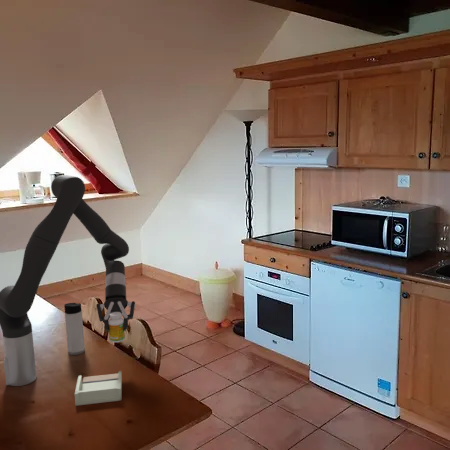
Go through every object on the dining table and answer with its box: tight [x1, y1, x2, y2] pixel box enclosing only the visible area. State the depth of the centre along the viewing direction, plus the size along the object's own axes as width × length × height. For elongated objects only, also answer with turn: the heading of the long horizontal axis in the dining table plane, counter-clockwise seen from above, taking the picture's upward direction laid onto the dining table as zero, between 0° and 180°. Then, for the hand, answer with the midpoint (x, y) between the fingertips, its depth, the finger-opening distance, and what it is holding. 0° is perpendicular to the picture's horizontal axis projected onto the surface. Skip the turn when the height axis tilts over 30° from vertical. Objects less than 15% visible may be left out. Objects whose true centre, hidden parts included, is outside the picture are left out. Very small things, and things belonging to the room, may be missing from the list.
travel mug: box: [64, 302, 86, 356], centre depth 187 cm, size 6×7×20 cm
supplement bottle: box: [108, 312, 126, 343], centre depth 171 cm, size 5×5×10 cm
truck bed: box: [74, 370, 123, 406], centre depth 159 cm, size 14×17×4 cm
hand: (116, 330), depth 169 cm, fingers closed on supplement bottle, 5 cm apart
